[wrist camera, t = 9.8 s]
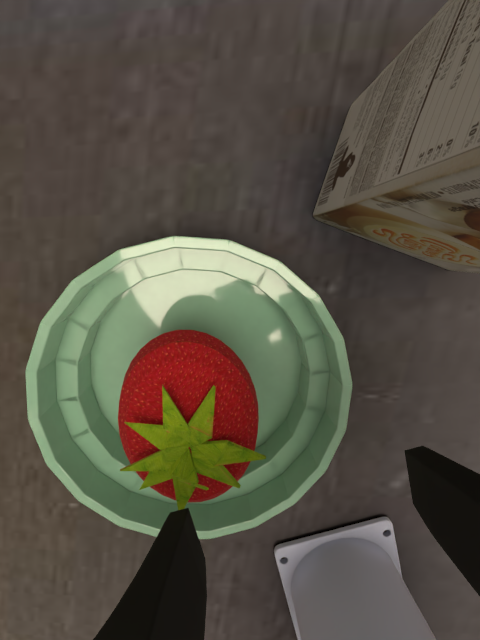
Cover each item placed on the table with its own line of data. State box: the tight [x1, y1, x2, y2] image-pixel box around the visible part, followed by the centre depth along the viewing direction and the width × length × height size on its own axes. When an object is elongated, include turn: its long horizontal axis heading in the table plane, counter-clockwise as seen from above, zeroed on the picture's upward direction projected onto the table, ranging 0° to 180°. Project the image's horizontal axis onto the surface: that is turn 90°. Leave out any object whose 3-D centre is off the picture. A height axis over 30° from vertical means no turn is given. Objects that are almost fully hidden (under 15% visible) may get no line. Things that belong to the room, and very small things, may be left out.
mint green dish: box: [26, 236, 352, 539], centre depth 19 cm, size 15×15×4 cm
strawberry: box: [118, 330, 266, 510], centre depth 16 cm, size 6×8×10 cm
